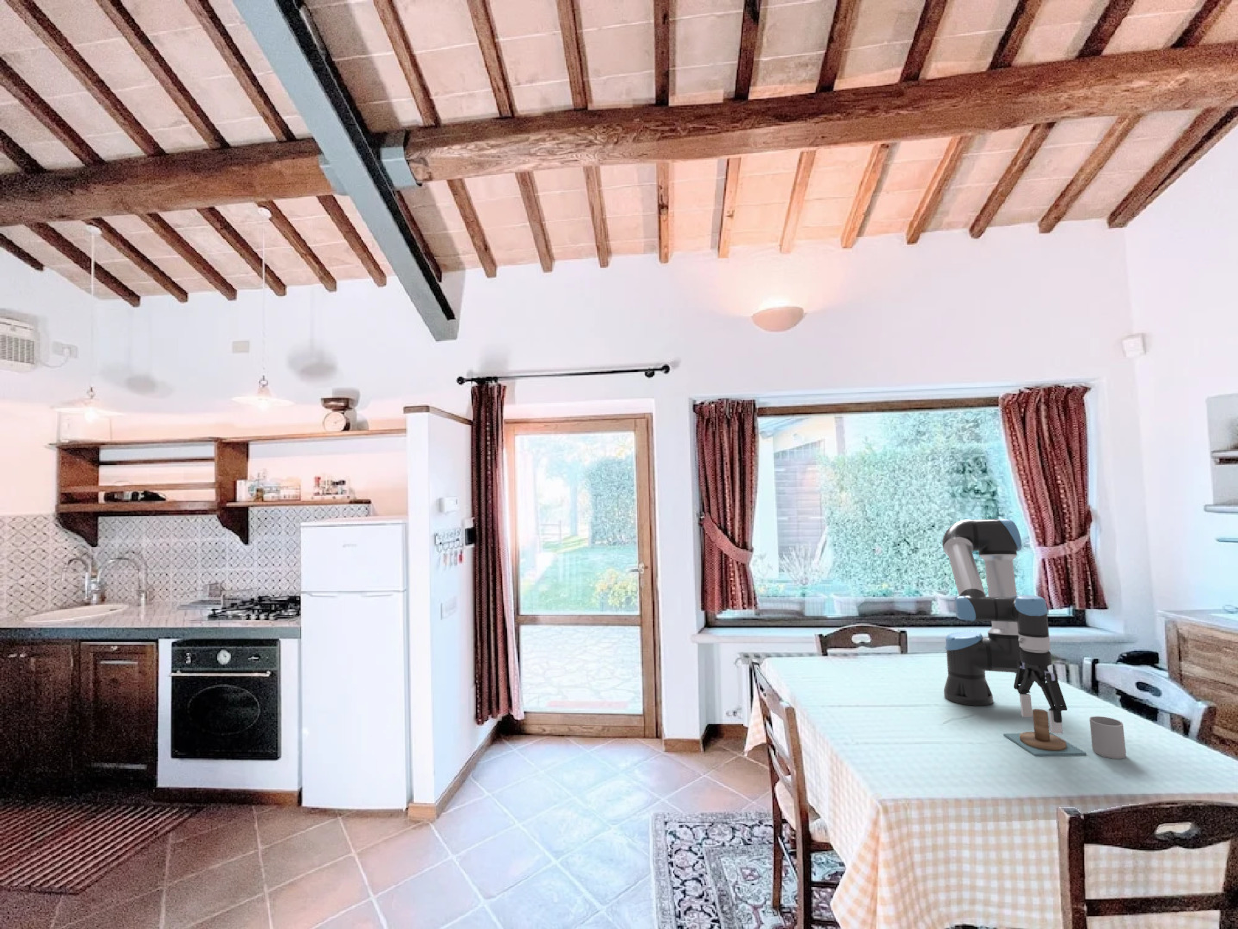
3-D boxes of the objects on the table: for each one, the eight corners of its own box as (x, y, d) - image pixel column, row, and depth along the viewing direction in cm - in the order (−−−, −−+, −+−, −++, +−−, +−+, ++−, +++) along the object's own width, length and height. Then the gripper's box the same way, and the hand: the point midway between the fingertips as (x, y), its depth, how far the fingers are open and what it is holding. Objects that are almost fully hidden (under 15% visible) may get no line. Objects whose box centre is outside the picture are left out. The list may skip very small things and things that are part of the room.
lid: (1011, 735, 172) (1008, 705, 172) (1048, 734, 171) (1046, 704, 172) (1036, 751, 161) (1033, 718, 161) (1076, 750, 160) (1073, 718, 161)
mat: (1003, 735, 173) (1003, 733, 173) (1050, 734, 172) (1050, 732, 172) (1034, 756, 159) (1034, 753, 159) (1086, 755, 159) (1086, 752, 159)
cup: (1100, 758, 156) (1097, 725, 157) (1082, 743, 166) (1079, 712, 167) (1132, 760, 154) (1128, 727, 155) (1112, 745, 164) (1109, 713, 165)
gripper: (996, 640, 180) (1002, 709, 178) (1050, 661, 156) (1057, 742, 154) (1021, 639, 180) (1027, 709, 178) (1078, 660, 156) (1086, 741, 154)
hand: (1041, 724), depth 166 cm, fingers open, 12 cm apart
